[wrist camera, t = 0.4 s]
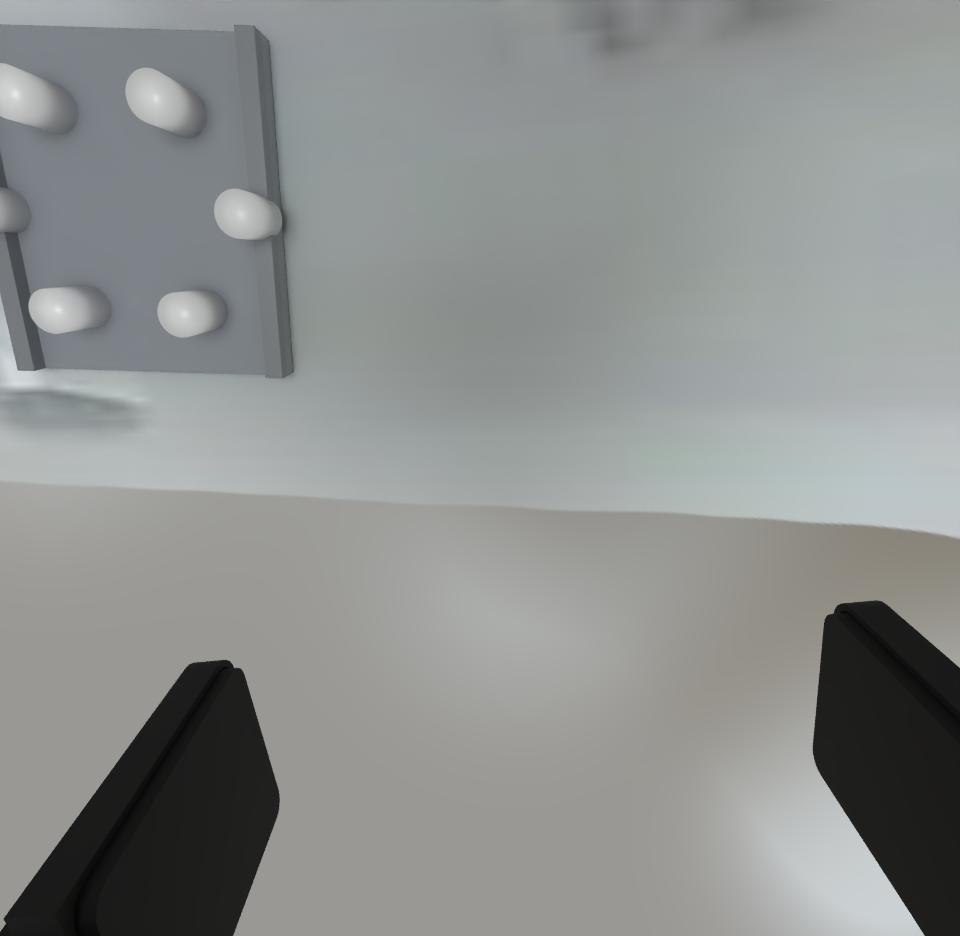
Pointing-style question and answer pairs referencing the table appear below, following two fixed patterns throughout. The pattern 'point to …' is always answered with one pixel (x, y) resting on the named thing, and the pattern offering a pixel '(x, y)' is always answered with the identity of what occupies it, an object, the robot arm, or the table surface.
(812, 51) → the table surface
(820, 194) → the table surface
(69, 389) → the table surface
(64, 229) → the tray
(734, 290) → the table surface
